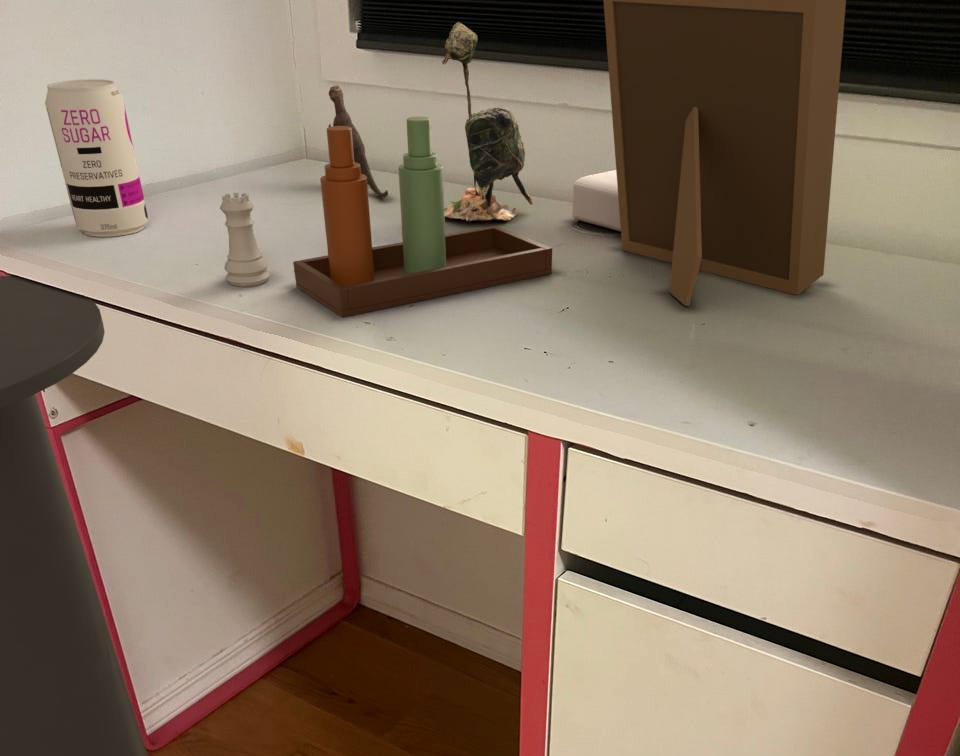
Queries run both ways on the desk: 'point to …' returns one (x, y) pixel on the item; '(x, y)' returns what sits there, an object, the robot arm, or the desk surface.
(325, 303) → the tray
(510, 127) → the plant with pod
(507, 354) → the desk surface
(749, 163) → the photo frame
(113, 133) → the supplement can
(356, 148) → the dinosaur model
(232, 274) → the rook chess piece
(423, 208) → the sage bottle
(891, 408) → the desk surface
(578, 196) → the charger
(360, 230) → the amber bottle
